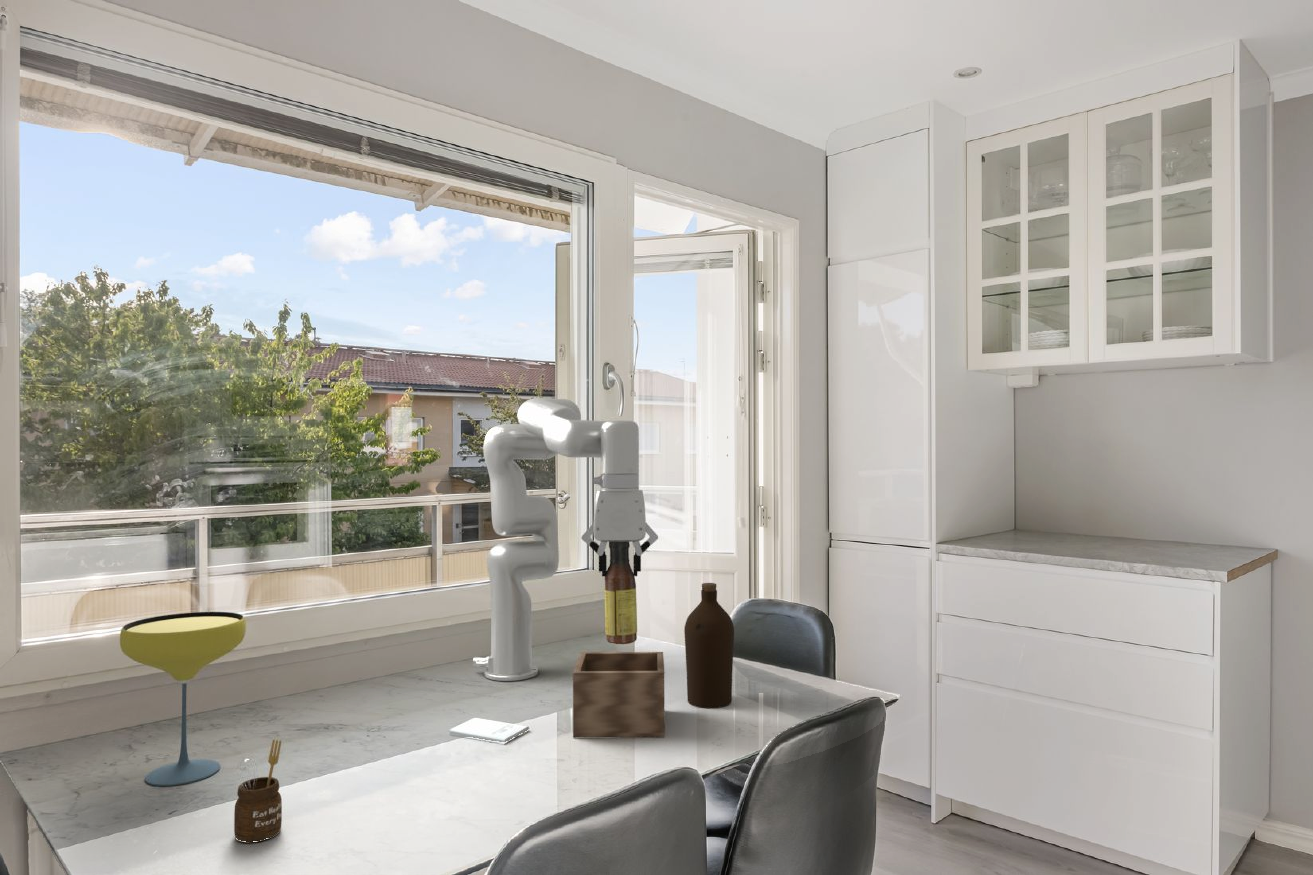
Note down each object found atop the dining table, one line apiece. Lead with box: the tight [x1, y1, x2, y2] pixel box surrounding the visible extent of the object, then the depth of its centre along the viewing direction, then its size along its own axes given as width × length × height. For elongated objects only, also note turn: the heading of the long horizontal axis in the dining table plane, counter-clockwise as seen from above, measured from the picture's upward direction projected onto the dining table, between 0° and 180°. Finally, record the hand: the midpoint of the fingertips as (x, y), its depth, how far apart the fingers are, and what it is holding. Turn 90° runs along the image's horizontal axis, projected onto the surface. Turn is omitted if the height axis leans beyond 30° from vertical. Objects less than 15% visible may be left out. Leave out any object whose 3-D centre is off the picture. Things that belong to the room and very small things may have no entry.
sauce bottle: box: [604, 542, 638, 645], centre depth 160 cm, size 6×6×20 cm
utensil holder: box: [233, 739, 283, 842], centre depth 113 cm, size 6×6×12 cm
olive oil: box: [683, 582, 735, 709], centre depth 174 cm, size 11×11×25 cm
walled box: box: [572, 651, 666, 739], centre depth 160 cm, size 17×16×12 cm
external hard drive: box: [449, 717, 530, 742], centre depth 155 cm, size 2×8×12 cm
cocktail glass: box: [119, 611, 247, 787], centre depth 135 cm, size 18×18×25 cm
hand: (619, 574), depth 160 cm, fingers closed on sauce bottle, 5 cm apart
